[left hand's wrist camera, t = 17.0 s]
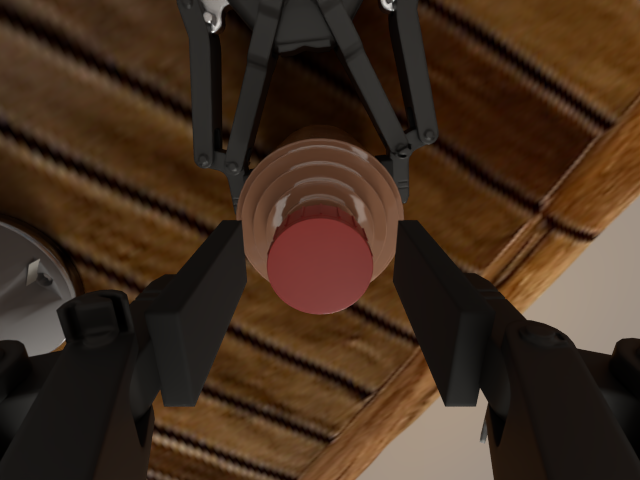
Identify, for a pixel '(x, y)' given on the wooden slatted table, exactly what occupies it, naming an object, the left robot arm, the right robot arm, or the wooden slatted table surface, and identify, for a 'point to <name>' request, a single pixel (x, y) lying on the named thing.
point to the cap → (319, 260)
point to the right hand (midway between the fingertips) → (326, 251)
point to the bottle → (320, 191)
